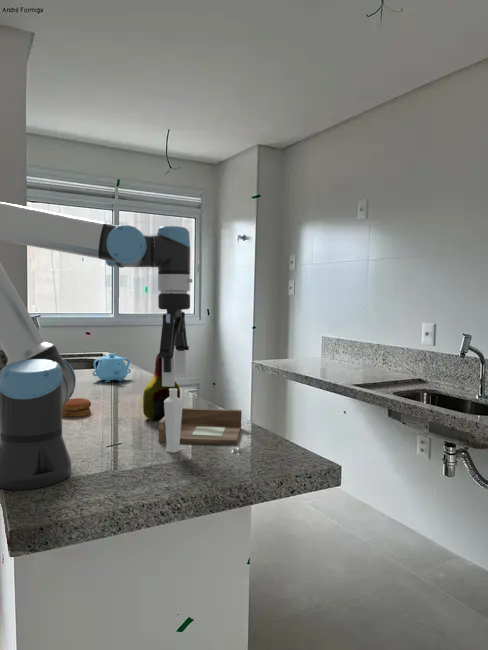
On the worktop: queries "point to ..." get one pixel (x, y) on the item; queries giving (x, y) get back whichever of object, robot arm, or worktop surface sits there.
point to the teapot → (111, 368)
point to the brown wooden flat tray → (207, 426)
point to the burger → (76, 408)
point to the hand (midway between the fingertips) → (174, 381)
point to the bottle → (156, 394)
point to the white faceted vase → (173, 421)
